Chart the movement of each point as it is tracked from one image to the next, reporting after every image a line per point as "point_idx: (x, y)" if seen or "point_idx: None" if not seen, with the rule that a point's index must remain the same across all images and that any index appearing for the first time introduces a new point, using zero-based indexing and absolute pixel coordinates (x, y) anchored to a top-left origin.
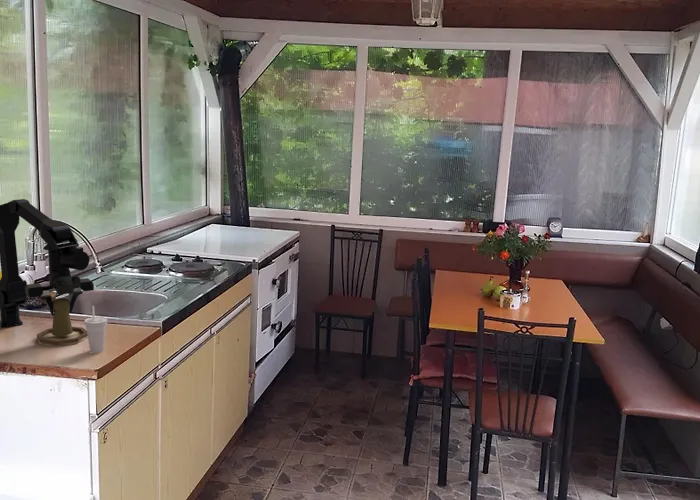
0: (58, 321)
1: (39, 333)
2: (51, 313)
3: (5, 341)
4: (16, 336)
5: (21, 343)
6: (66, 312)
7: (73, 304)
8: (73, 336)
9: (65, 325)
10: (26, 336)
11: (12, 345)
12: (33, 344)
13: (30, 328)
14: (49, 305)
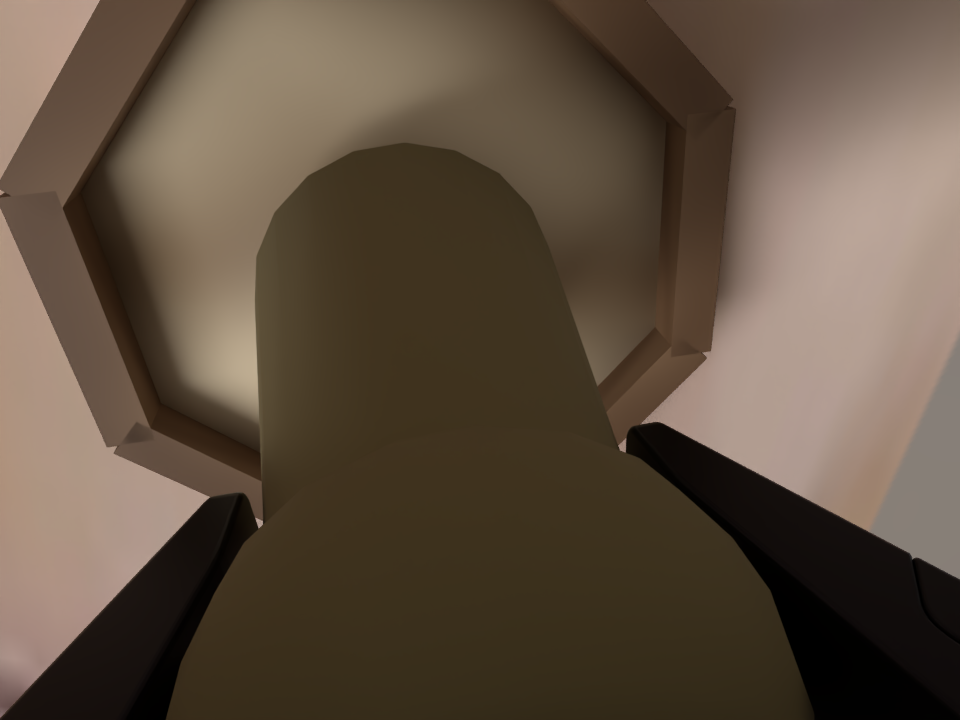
0: (514, 278)
1: (670, 383)
2: (700, 443)
3: (943, 367)
4: (811, 473)
5: (854, 249)
6: (329, 421)
7: (39, 695)
8: (254, 220)
9: (369, 221)
10: (738, 449)
11: (950, 216)
12: (763, 159)
13: None
14: (929, 587)
